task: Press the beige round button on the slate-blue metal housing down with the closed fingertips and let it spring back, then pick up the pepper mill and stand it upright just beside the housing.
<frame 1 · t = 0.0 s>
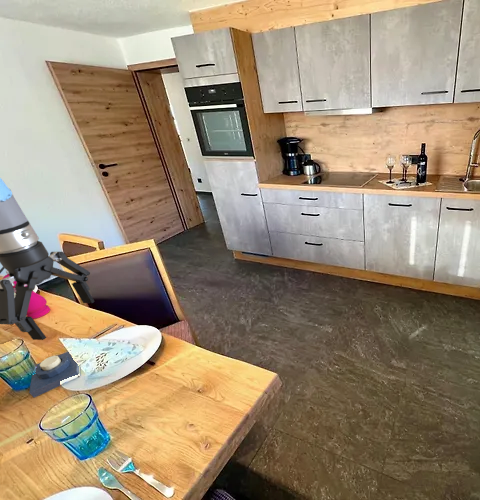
hand: (66, 319, 75), 21 cm above the table, tool pointing down, fingers open, 13 cm apart
beige round button: (50, 363, 83), point 4 cm above the table, slide at 0.1 cm
housing: (58, 373, 86), on the table
pepper mill: (40, 313, 111), on the table
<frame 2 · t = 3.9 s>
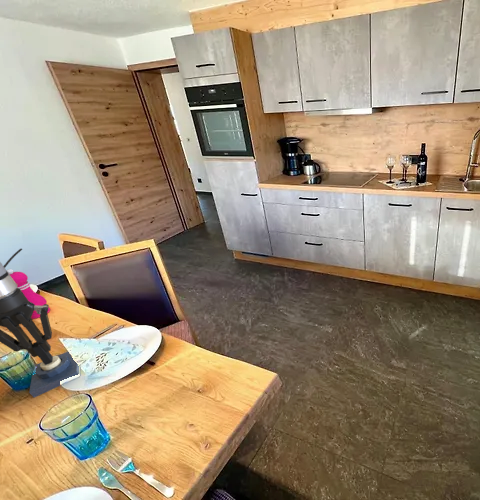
hand: (49, 360, 83), 5 cm above the table, tool pointing down, fingers closed
beige round button: (50, 363, 84), point 4 cm above the table, slide at 0.0 cm, touching gripper
everything else where it was.
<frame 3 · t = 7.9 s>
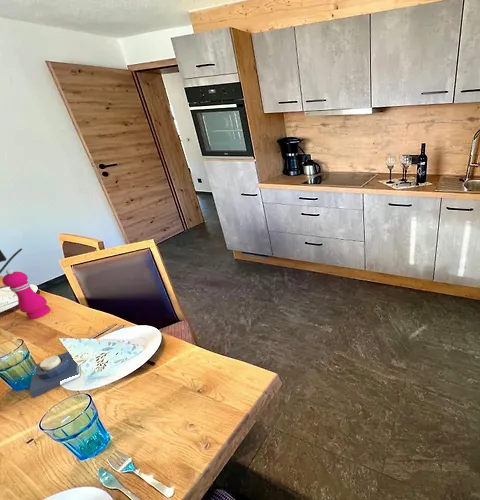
hand: (0, 261, 99), 24 cm above the table, tool pointing down, fingers closed
beige round button: (50, 363, 83), point 4 cm above the table, slide at 0.1 cm
everything else where it was.
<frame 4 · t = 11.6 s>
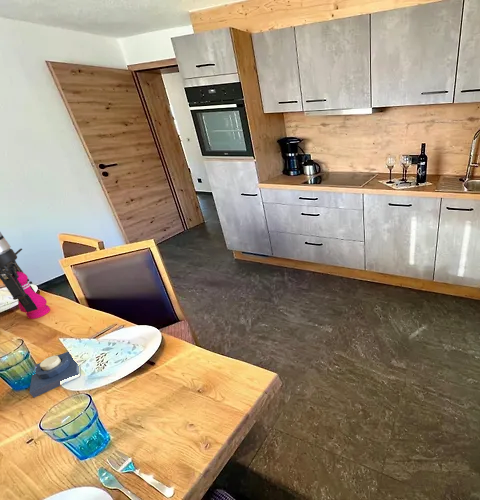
hand: (33, 305, 109), 4 cm above the table, tool pointing down, fingers closed on pepper mill, 7 cm apart
pepper mill: (40, 313, 111), on the table, touching gripper
everything else where it was.
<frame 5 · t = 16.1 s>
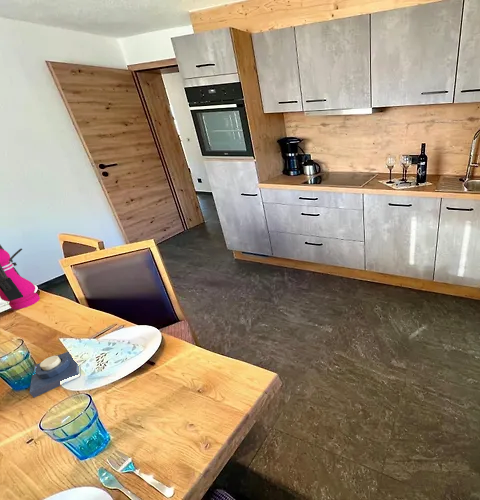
hand: (18, 292, 86), 21 cm above the table, tool pointing down, fingers closed on pepper mill, 7 cm apart
pepper mill: (26, 303, 88), point 17 cm above the table, touching gripper
everything else where it was.
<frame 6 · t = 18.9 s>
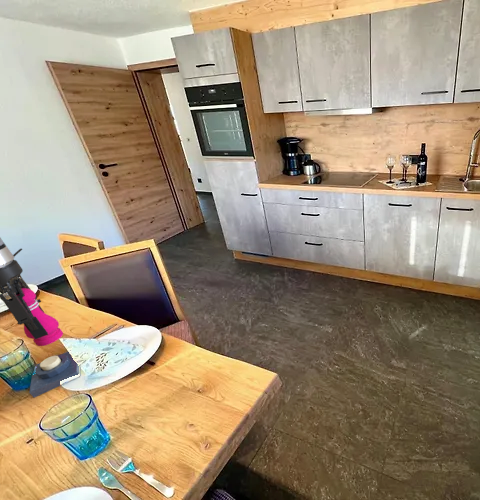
hand: (42, 329, 88), 10 cm above the table, tool pointing down, fingers closed on pepper mill, 7 cm apart
pepper mill: (50, 339, 90), point 6 cm above the table, touching gripper
everything else where it was.
when the fingers open (4 cm above the table, at t = 20.7 s): pepper mill stays where it is, on the table.
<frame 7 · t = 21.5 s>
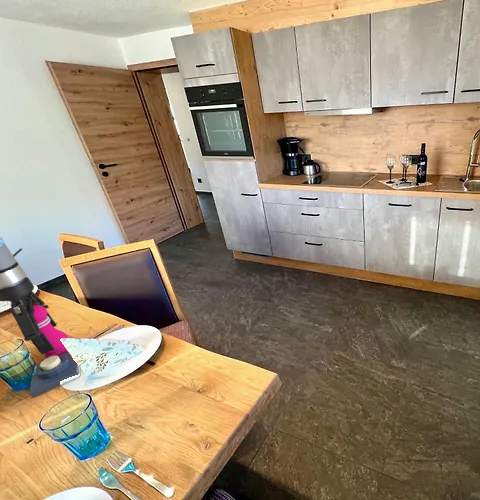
hand: (49, 338, 90), 6 cm above the table, tool pointing down, fingers open, 13 cm apart
pepper mill: (60, 353, 93), on the table
everything else where it was.
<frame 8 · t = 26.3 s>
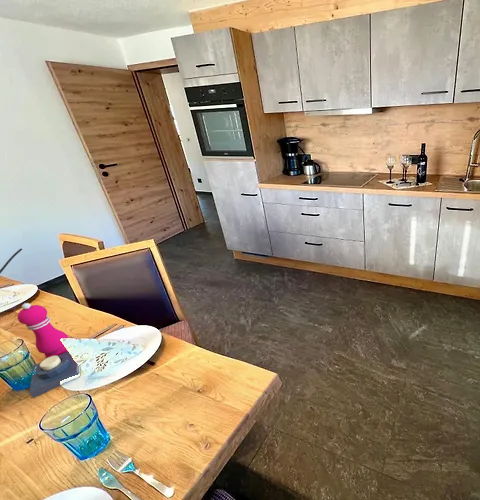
nothing on the table moved.
at the end: beige round button pushed in 1.0 cm at the most during the clip, back to where it started at the end; pepper mill 1.8 cm from the target spot on the table beside the housing, on the table; pepper mill tilted 0° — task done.
